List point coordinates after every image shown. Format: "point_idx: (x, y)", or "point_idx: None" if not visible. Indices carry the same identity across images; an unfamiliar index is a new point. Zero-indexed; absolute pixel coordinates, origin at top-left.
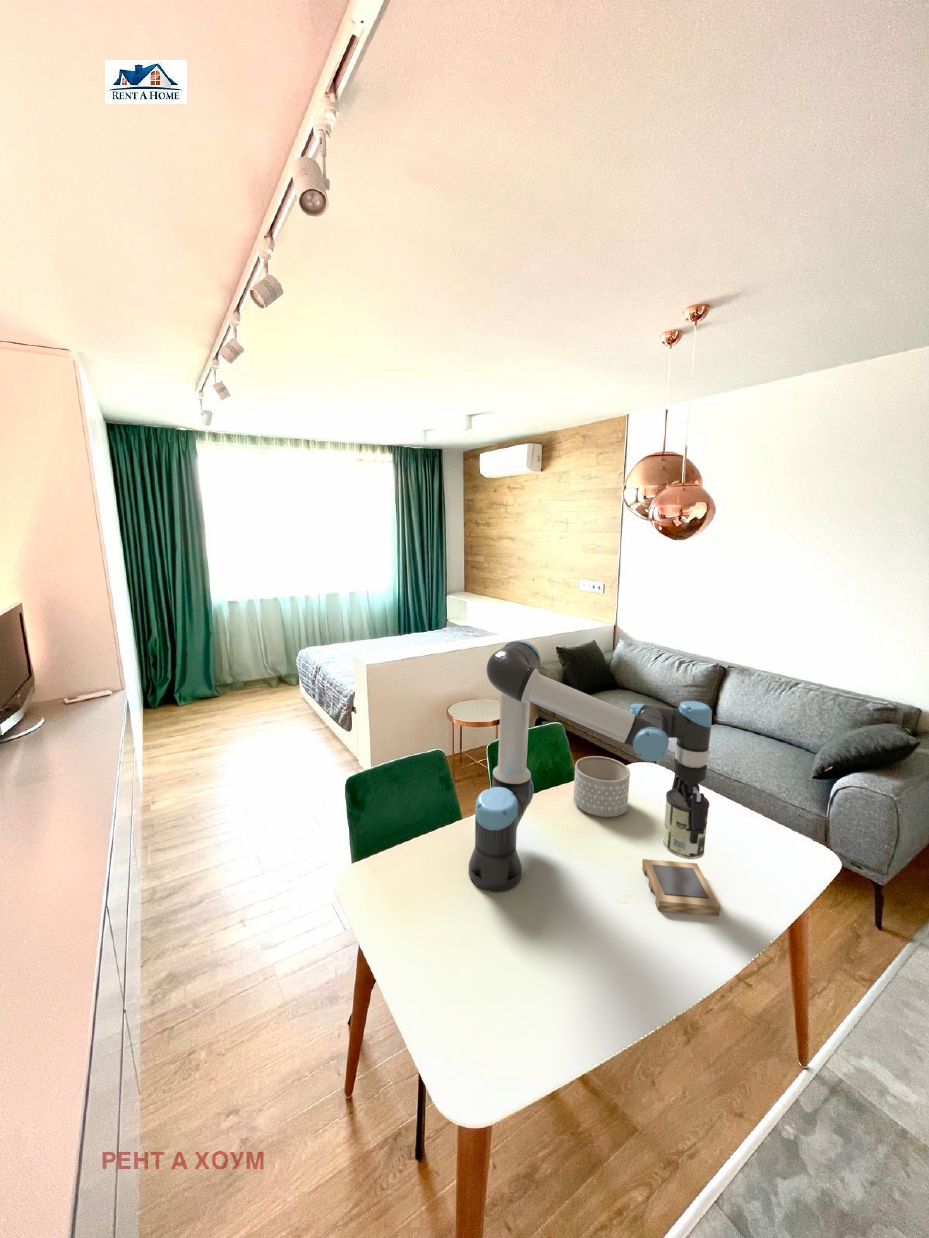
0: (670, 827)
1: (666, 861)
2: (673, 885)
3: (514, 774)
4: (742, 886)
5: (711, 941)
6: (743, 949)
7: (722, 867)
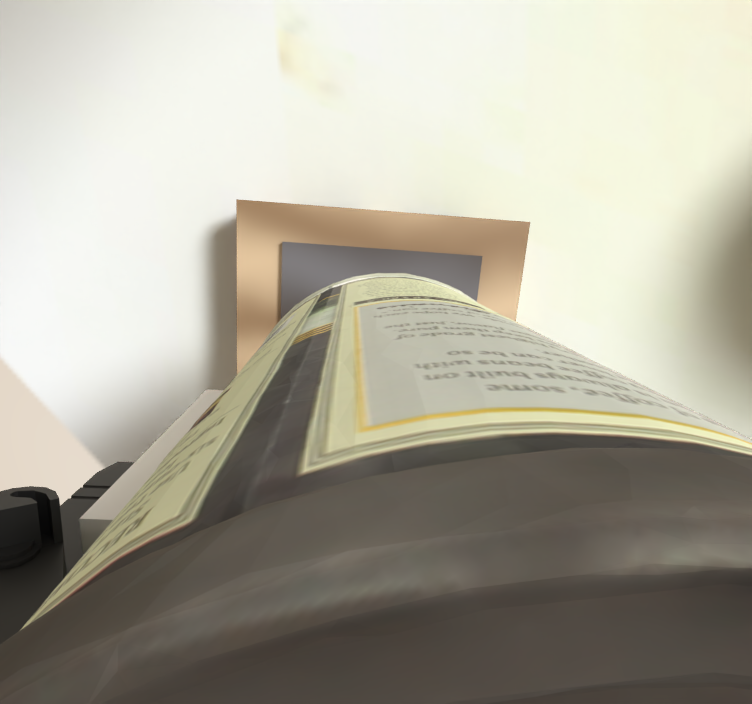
0: (315, 324)
1: None
2: None
3: None
4: None
5: (122, 357)
6: (106, 450)
7: None
